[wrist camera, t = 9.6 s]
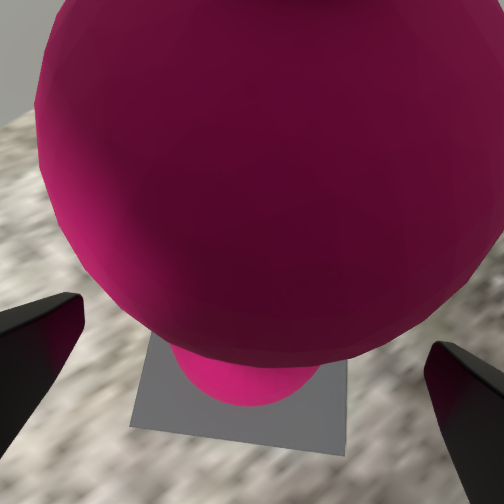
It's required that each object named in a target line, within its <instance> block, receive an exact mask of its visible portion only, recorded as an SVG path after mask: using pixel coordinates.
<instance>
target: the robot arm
mask: <svg viewBox="0 0 504 504" xmlns="http://www.w3.org/2000/svg"><path fill="white" fill-rule="evenodd" d="M84 326H85V315H84V301H83V297H82V296H81V295H80V294H78V293H70V292H63V293H60V294H56V295H53V296H50V297H47V298H43V299H40V300H37V301H34V302H30V303H27V304H24V305H21V306H18V307H14V308H11V309H8V310H5V311H1V312H0V459H1V457H2V456H3V455H4V453H5V452H6V450H7V449H8V447H9V446H10V445H11V443H12V442H13V440H14V439H15V437H16V436H17V435H18V433H19V432H20V430H21V429H22V427H23V426H24V425H25V423H26V422H27V420H28V419H29V418H30V416H31V415H32V413H33V412H34V410H35V409H36V408H37V406H38V405H39V403H40V402H41V400H42V399H43V398H44V396H45V395H46V393H47V392H48V391H49V389H50V388H51V386H52V385H53V383H54V382H55V380H56V378H57V377H58V375H59V373H60V371H61V370H62V368H63V366H64V364H65V362H66V361H67V359H68V357H69V355H70V353H71V352H72V350H73V348H74V346H75V344H76V343H77V341H78V339H79V337H80V335H81V334H82V332H83V329H84ZM424 378H425V381H426V385H427V388H428V391H429V395H430V398H431V401H432V405H433V408H434V412H435V415H436V418H437V422H438V425H439V428H440V431H441V434H442V436H443V439H444V442H445V444H446V447H447V449H448V452H449V454H450V456H451V459H452V461H453V464H454V466H455V468H456V471H457V473H458V476H459V478H460V481H461V483H462V485H463V488H464V490H465V493H466V495H467V497H468V500H469V502H470V504H504V373H503V372H501V371H500V370H498V369H496V368H495V367H493V366H491V365H490V364H488V363H486V362H485V361H483V360H481V359H479V358H478V357H476V356H474V355H473V354H471V353H469V352H468V351H466V350H464V349H463V348H461V347H459V346H457V345H456V344H454V343H451V342H443V341H436V342H434V343H433V345H432V347H431V350H430V352H429V355H428V358H427V361H426V363H425V366H424Z"/></svg>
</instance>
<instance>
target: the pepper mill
mask: <svg viewBox="0 0 504 504" xmlns="http://www.w3.org/2000/svg"><path fill="white" fill-rule="evenodd" d="M34 108H35V120H36V132H37V144H38V156H39V168H40V171H41V174H42V177H43V180H44V183H45V186H46V189H47V192H48V195H49V197H50V200H51V203H52V206H53V209H54V212H55V215H56V218H57V221H58V224H59V226H60V228H61V230H62V231H63V233H64V235H65V236H66V238H67V240H68V241H69V243H70V245H71V247H72V248H73V250H74V252H75V253H76V255H77V257H78V258H79V260H80V262H81V264H82V265H83V267H84V269H85V270H86V271H87V272H88V273H89V274H90V275H91V276H92V278H93V279H94V280H95V281H96V282H97V283H98V284H99V285H100V286H101V287H102V288H103V290H104V291H105V292H106V293H107V294H108V295H109V296H110V297H111V298H112V299H113V300H114V302H115V303H116V304H117V305H118V306H119V307H120V308H121V309H122V310H123V311H125V312H126V313H128V314H129V315H130V316H132V317H133V318H134V319H136V320H137V321H139V322H140V323H141V324H143V325H144V326H145V327H147V328H148V329H150V330H151V331H152V332H154V333H155V334H156V335H158V336H159V337H161V338H162V339H163V340H165V341H166V342H168V343H170V346H171V349H172V351H173V354H174V356H175V358H176V360H177V362H178V364H179V366H180V368H181V370H182V371H183V372H184V374H185V375H186V376H187V378H188V379H189V380H190V381H191V382H192V383H193V384H194V385H195V386H196V387H197V388H198V389H199V390H201V391H202V392H204V393H205V394H207V395H208V396H210V397H212V398H214V399H216V400H219V401H221V402H223V403H227V404H231V405H235V406H245V407H254V406H264V405H267V404H271V403H275V402H278V401H280V400H282V399H284V398H286V397H288V396H290V395H291V394H293V393H294V392H296V391H297V390H299V389H300V388H301V387H302V386H303V385H304V384H305V383H306V382H307V381H308V380H309V379H310V378H311V377H312V376H313V375H314V374H315V372H316V371H317V370H318V368H319V367H320V366H321V365H323V364H327V363H332V362H337V361H341V360H346V359H351V358H354V357H357V356H359V355H361V354H364V353H366V352H368V351H370V350H373V349H375V348H377V347H380V346H382V345H384V344H386V343H388V342H390V341H391V340H393V339H395V338H396V337H398V336H400V335H401V334H403V333H405V332H406V331H408V330H409V329H411V328H413V327H414V326H416V325H418V324H419V323H421V322H423V321H424V320H425V319H427V318H428V317H429V316H430V315H431V314H432V313H433V312H434V311H436V310H437V309H438V308H439V307H440V306H441V305H442V304H443V303H445V302H446V301H447V300H448V299H449V298H450V297H451V296H452V295H453V294H455V293H456V292H457V291H458V290H459V289H460V288H461V287H462V286H464V285H465V284H466V283H467V282H468V280H469V279H470V277H471V276H472V275H473V273H474V272H475V270H476V269H477V268H478V266H479V265H480V263H481V262H482V261H483V259H484V258H485V256H486V255H487V254H488V252H489V251H490V249H491V248H492V247H493V245H494V244H495V242H496V241H497V240H498V238H499V237H500V235H501V234H502V233H503V231H504V12H503V10H502V8H501V6H500V4H499V2H498V0H66V1H65V2H64V4H63V6H62V7H61V9H60V11H59V12H58V13H57V16H56V18H55V21H54V24H53V27H52V30H51V33H50V36H49V39H48V43H47V46H46V48H45V51H44V57H43V62H42V67H41V72H40V77H39V82H38V87H37V92H36V97H35V102H34Z"/></svg>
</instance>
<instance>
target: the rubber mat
mask: <svg viewBox="0 0 504 504" xmlns="http://www.w3.org/2000/svg"><path fill="white" fill-rule="evenodd" d="M346 363H347V359H346V360H341V361H337V362H332V363H327V364H323V365H321V366H320V367H319V368H318V370H317V371H316V372H315V374H314V375H313V376H312V377H311V378H310V379H309V380H308V381H307V382H306V383H305V384H304V385H303V386H302V387H301V388H300V389H299V390H297V391H296V392H294V393H293V394H291V395H290V396H288V397H286V398H284V399H282V400H280V401H278V402H275V403H271V404H267V405H264V406H254V407H245V406H235V405H231V404H227V403H223V402H221V401H219V400H216V399H214V398H212V397H210V396H208V395H207V394H205V393H204V392H202V391H201V390H199V389H198V388H197V387H196V386H195V385H194V384H193V383H192V382H191V381H190V380H189V379H188V378H187V376H186V375H185V374H184V372H183V371H182V370H181V368H180V366H179V364H178V362H177V360H176V358H175V356H174V354H173V351H172V349H171V346H170V343H168V342H166V341H165V340H163V339H162V338H161V337H159V336H158V335H156V334H155V333H154V332H151V336H150V341H149V345H148V349H147V353H146V358H145V362H144V366H143V370H142V375H141V379H140V383H139V387H138V392H137V396H136V400H135V404H134V409H133V413H132V417H131V421H130V426H129V427H135V428H142V429H149V430H157V431H164V432H171V433H178V434H186V435H193V436H200V437H207V438H215V439H222V440H229V441H236V442H244V443H251V444H258V445H266V446H273V447H280V448H287V449H295V450H302V451H309V452H316V453H324V454H331V455H338V456H345V417H346Z"/></svg>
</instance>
